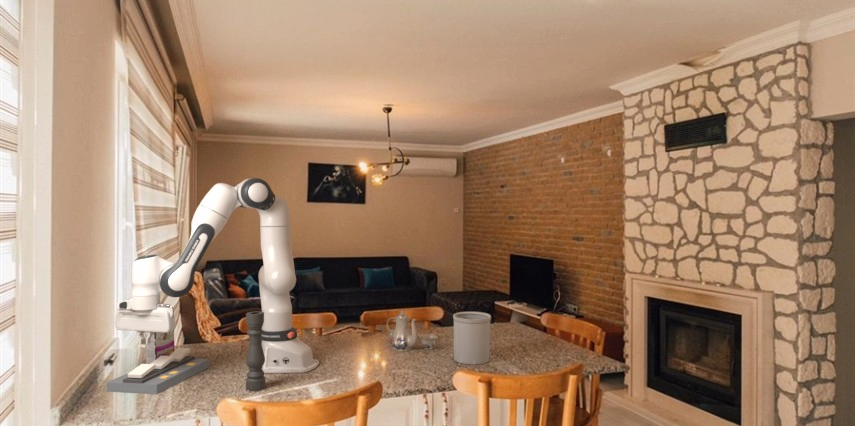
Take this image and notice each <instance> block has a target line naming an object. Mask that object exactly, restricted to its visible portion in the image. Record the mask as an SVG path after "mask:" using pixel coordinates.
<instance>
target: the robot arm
mask: <svg viewBox="0 0 855 426" xmlns="http://www.w3.org/2000/svg"><path fill="white" fill-rule="evenodd" d="M238 207H240V208H244V209H250V210H251V209H255V210H256V211H257V212H258V214H259V225H260V226H259V227H260V228H259V229H260V230H259V231H260V250H261V256H262V262H263V263H262V264H263V265H262V266H261V267H260V268H259V271H258V286H259V287H258V288H259V296H260V305H261V312H264V323H263V326H262V328H261V329H262V330H263V333H262V335H261V344H262V348H263V352H264V356H265V363H264V365H263V366H262V370H263V372H264V374H283V373H285V374H290V373H292V374H293V373H294V374H295V373H307V372H311V371H313V370H314V369H316V368H317V367H318V366H319V365H320V361H319V359H315V358H314V356H313V350H312V348H311V347H310V346H309V345H308V344H306V343H305V342H303V340H301V339H300V338H299V337H298V333H299V328H298V329H295V328H294V327H293V305H292V302H291V296H290V292H291V291H293V289H294V288H295V286H296V283H297V276H296V272H295V271H296V270H295V263H294V256H293V250H292V235H291V233H292V229H291V228H292V227H291V225H292V224H291V214H290V208H289V203H288V202H287V200H286V199H284V198H283V197H280V196H276V195H275V193H274V191H273V190H272V188H271V185H269V183H268V182H266V181H265V180H264V179H262V178H261V177H260V178H258V177H252V178H246V179H244V180H241V181H240V182H238V183H236V184H235V185H233V186H232V185H231V184H228V183H225V182H218V183H216V184H214V185H213V186H212V187H211V188H210V189H209V191H208V192H207V193H205V195H204V197H203V198H202V199H201V201H200V203H199V205H198V206H197V207H196V210H195V211H194V214H193V216H192V219H191V223H190V225H191V227H190V229H191V231H190V235H189V236H190V237H189V239H188V242H187V243H186V245H185V247H184V249H183V251H182V252H181V254H180V256H179V258H178V259H177V260H176V262H171V261H169V260H167V259H164V258H162V257H161V256H159V254H147V255H142V256H139V257H137V258H136V259H135V260H134V261H133V263H132V267H131V274H130V279H131V280H130V283H131V287H132V289H131V294H130V298H128V299H126V300H122V301H119V302H117V303H116V309H117V310H116V312H115V313H116V314H115V319H114V320H115V321H114V325H115V328H116V329H117V330H118V331H132V332H133V331H134V332H136V336H137V338H138V340H139V345H144V346H145V345H149V344H150V343H151V338H152V336H153V335H154V332H165V333H168V332H171V331H173V330H174V331H175V329H176V318H175V309H174V307H173V306H172V305H171V304H169V303H166V304H165V303H161V292H163V294H165V295H167V296H168V297H171V298H180V297H184V296H186V295H187V294H189V292H190V291H192V288H193V287H194V284H195V283H194V282H195V275H196V274H195V273H196V271H197V268H198V266H199V264H200V262H201V261H202V258H203V257H204V255H205V252H206V251H207V250H208V249H209V246H210V245H211V243H212V242H213V241H214V240H215V239H216V237H217V236H218V235H220V233H221V232H222V230H223V228H224V227H225V226H226V224H227V222H228V221H229V219H230V218H231V215H232V213H234V211H235V210H236V209H237V208H238ZM145 331H146V334H147V335H148V336H147V338H145Z"/></svg>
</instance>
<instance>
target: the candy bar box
mask: <svg viewBox="0 0 855 426" xmlns="http://www.w3.org/2000/svg"><path fill="white" fill-rule="evenodd" d="M147 336H148V335H147V334H146V331H144V337H145V338H147ZM144 346H145V349H144V350H145V352H144V353H145V364H150V363H152V362H153V361H154V360H156V359H157V358H159V357H160V356H170V355H171V354H172V353H173V352H174V351H175V350H176V349H175V329H174V330H173V331H171V332H168V333H165V332H154V335H153V336H152V338H151V343H150V344H149V345H144Z"/></svg>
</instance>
